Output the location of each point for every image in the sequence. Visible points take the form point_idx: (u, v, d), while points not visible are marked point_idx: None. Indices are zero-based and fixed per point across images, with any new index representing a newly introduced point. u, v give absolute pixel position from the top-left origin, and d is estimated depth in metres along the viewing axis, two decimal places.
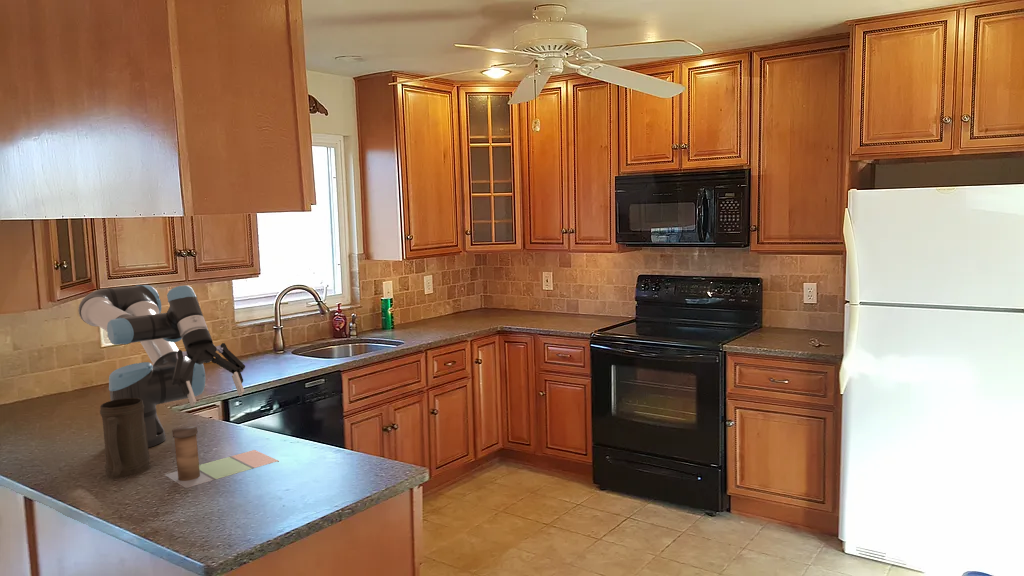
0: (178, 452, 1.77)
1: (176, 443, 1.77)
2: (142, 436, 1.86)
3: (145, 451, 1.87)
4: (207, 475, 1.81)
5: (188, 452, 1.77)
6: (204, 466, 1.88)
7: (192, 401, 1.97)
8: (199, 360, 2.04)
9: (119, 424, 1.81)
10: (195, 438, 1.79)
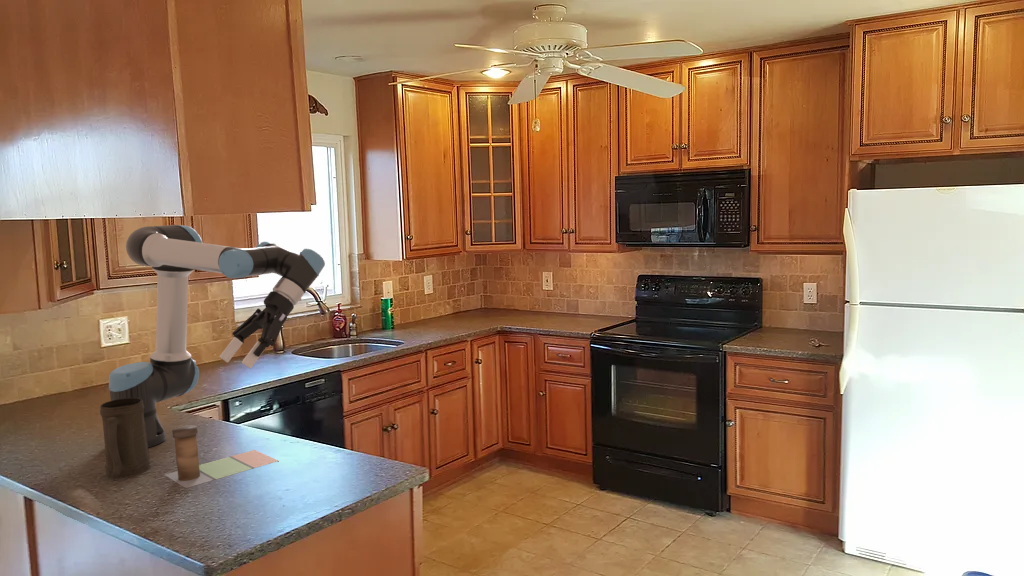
0: (178, 452, 1.77)
1: (176, 443, 1.77)
2: (142, 436, 1.86)
3: (145, 451, 1.87)
4: (207, 475, 1.81)
5: (188, 452, 1.77)
6: (204, 466, 1.88)
7: (249, 365, 1.83)
8: None
9: (119, 424, 1.81)
10: (195, 438, 1.79)
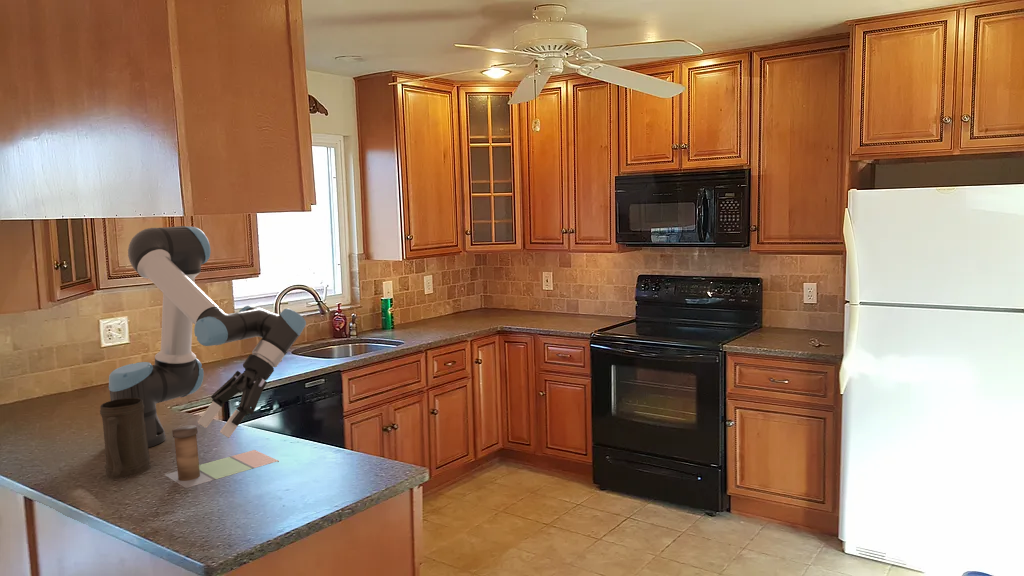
0: (178, 452, 1.77)
1: (176, 443, 1.77)
2: (142, 436, 1.86)
3: (145, 451, 1.87)
4: (207, 475, 1.81)
5: (188, 452, 1.77)
6: (204, 466, 1.88)
7: (228, 434, 1.78)
8: None
9: (119, 424, 1.81)
10: (195, 438, 1.79)
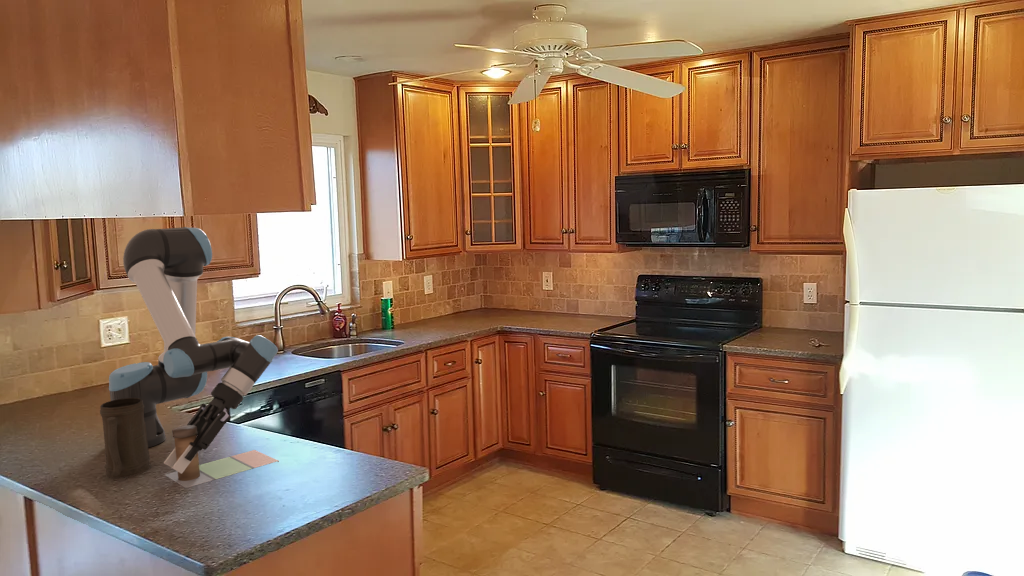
0: (178, 452, 1.77)
1: (176, 443, 1.77)
2: (142, 436, 1.86)
3: (145, 451, 1.87)
4: (207, 475, 1.81)
5: None
6: (204, 466, 1.88)
7: (181, 470, 1.76)
8: None
9: (119, 424, 1.81)
10: (195, 438, 1.79)
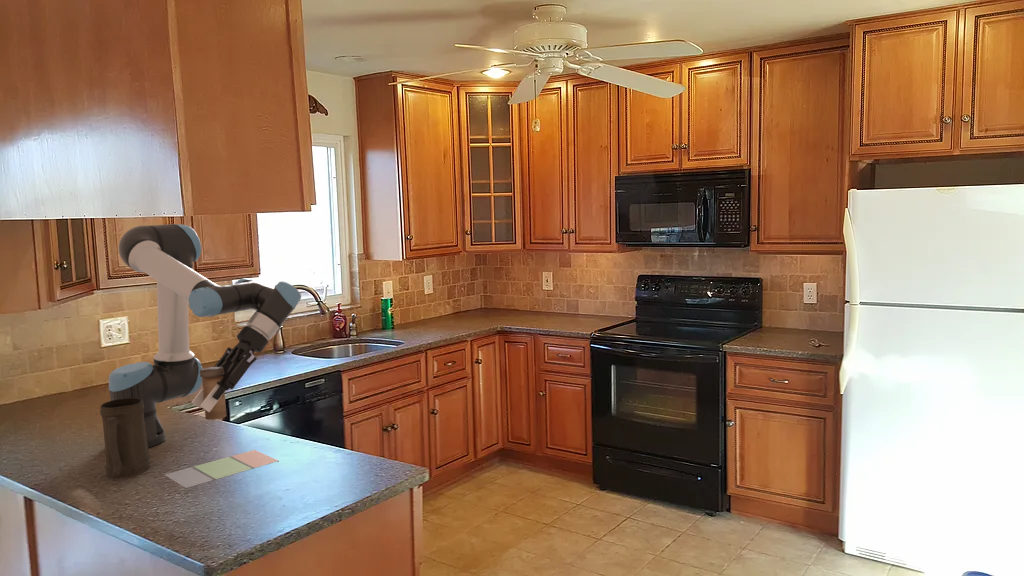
0: (205, 392, 1.81)
1: (203, 383, 1.81)
2: (142, 436, 1.86)
3: (145, 451, 1.87)
4: (207, 475, 1.81)
5: None
6: (204, 466, 1.88)
7: (208, 409, 1.80)
8: None
9: (119, 424, 1.81)
10: (222, 378, 1.83)
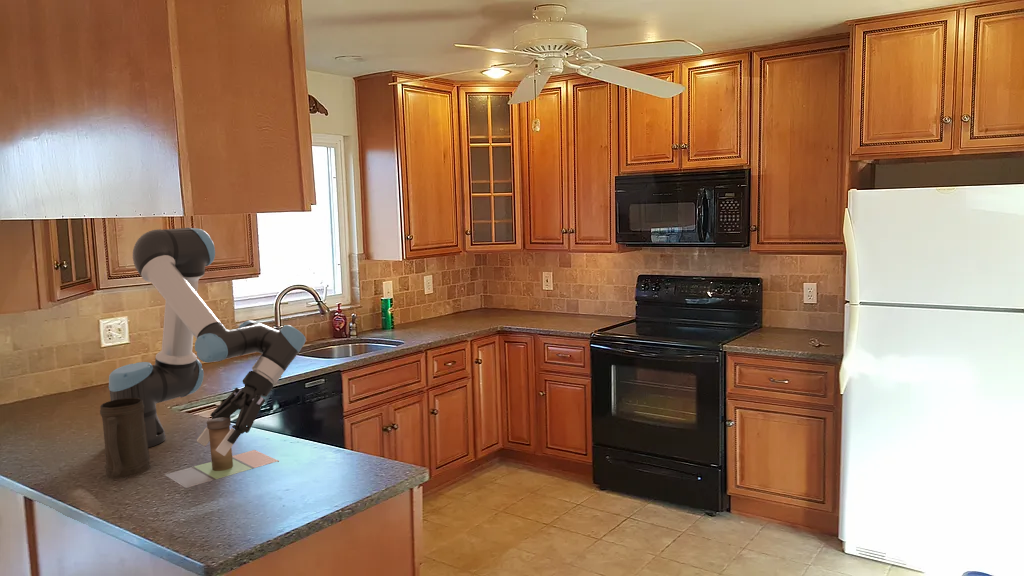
0: (212, 443, 1.83)
1: (210, 434, 1.83)
2: (142, 436, 1.86)
3: (145, 451, 1.87)
4: (207, 475, 1.81)
5: None
6: (204, 466, 1.88)
7: (223, 453, 1.80)
8: None
9: (119, 424, 1.81)
10: (228, 430, 1.85)
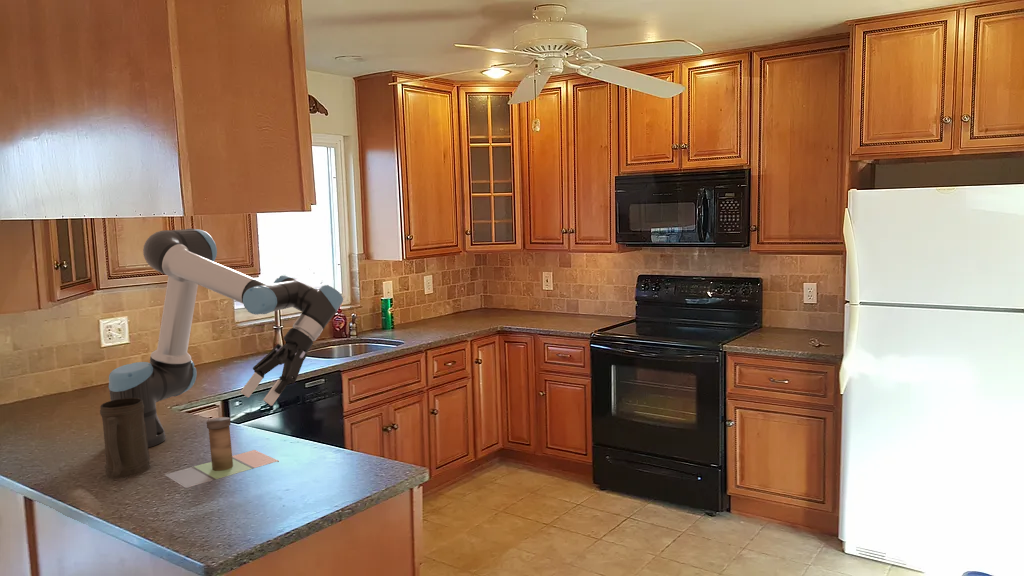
0: (212, 443, 1.83)
1: (210, 434, 1.83)
2: (142, 436, 1.86)
3: (145, 451, 1.87)
4: (207, 475, 1.81)
5: (222, 443, 1.83)
6: (204, 466, 1.88)
7: (271, 402, 1.87)
8: None
9: (119, 424, 1.81)
10: (228, 429, 1.85)
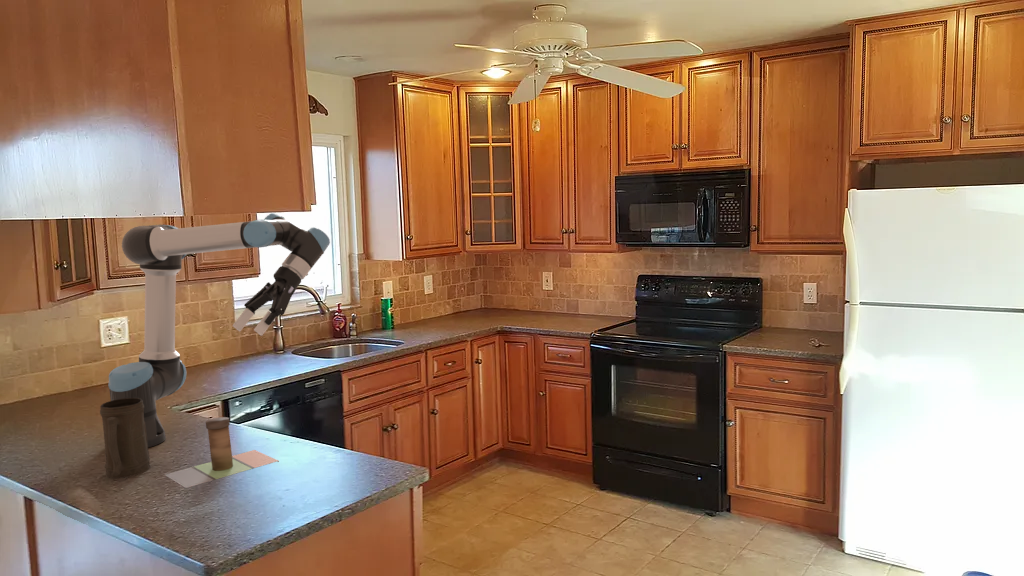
0: (212, 443, 1.83)
1: (210, 434, 1.83)
2: (142, 436, 1.86)
3: (145, 451, 1.87)
4: (207, 475, 1.81)
5: (221, 443, 1.83)
6: (204, 466, 1.88)
7: (261, 332, 1.99)
8: None
9: (119, 424, 1.81)
10: (228, 429, 1.85)
